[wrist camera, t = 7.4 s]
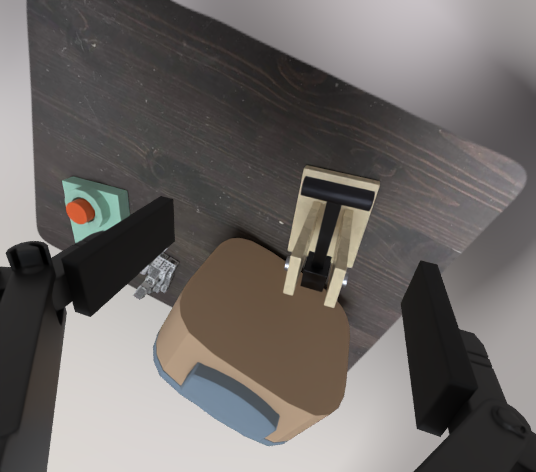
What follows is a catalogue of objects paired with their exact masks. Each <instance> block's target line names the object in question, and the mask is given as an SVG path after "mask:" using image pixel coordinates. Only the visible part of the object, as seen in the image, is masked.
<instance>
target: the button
mask: <svg viewBox="0 0 536 472" xmlns="http://www.w3.org/2000/svg"><path fill="white" fill-rule="evenodd" d="M66 211H67V214H68V216H69V217H70V218H71V220H73V221H74V222H75V223H77V224H85V223H87V222H88V221H90V220H92V219H93V218H94V217H95V210H94V208H93V207H92V205H91V204H90V203H89V202H88V201H87V200H86V199H83V198H79V199H76V200H74V201H72V202H70V203H68V204H67V206H66Z"/></svg>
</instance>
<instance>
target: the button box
mask: <svg viewBox="0 0 536 472" xmlns="http://www.w3.org/2000/svg"><path fill="white" fill-rule="evenodd" d="M62 183H63V188H64V192H65V204H66V206H67V204H68V203H70V202H72V201H74V200H76V199H79V198H83V199H86V200H87V201H88V202H89V203H90V204H91V205H92V207H93V208H94V210H95V217H94V218H93V219H92V220H90V221H88V222H87V223H85V224H77V223H75V222H74V221H73V220H71V218H70V220H71V225H72V229H73V234H74V238H75V243H77V242H79V241H80V240H81V241H82V239H84V238H85V237H87V236H89V235H90V234H92V233H95V232H99V231H102V230H104V231H106V230H107V229H109V228H111V227H112V226H114V225H115V224H117V223H119V222H120V221H122V220H123V219H125V218H127V217H128V216H130V212H129V202H128V192H127V190H123V189H119V188H116V187H112V186H108V185H104V184H100V183H97V182H93V181H89V180H85V179H81V178H77V177H74V176H73V177H70V178H68V179H65V180H62Z"/></svg>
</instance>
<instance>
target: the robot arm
mask: <svg viewBox="0 0 536 472" xmlns="http://www.w3.org/2000/svg"><path fill="white" fill-rule="evenodd" d="M173 242H175V234H174V206H173V199H170V198H166V197H162V196H160V197H159V198H157V199H156V200H154V201H152V202H151V203H149V204H147V205H146V206H144V207H143V208H141V209H139V210H138V211H136V212H135V213H133V214H131V215H130V216H128V217H127V218H125V219H123V220H122V221H120V222H119V223H117V224H115V225H114V226H112V227H111V228H109V229H107V230H106V231H104V230H102V231H99V232H95V233H92V234H90V235H89V236H87V237H85V238H84V239H82V241H81V240H80V241H79V242H77V243H75V245H72V246H70V247H69V248H67V249H65V250H64V251H62V252H60V253H59V254H57V255H56V256H54V257H52V258H51V256H50V253H49V249H48V245H47V244H45V243H44V242H39V241H30V242H24V243H20V244H18V245H15V246H13V247H11V248H10V249H8V250H7V252H6V255H7V258H8V261H9V263H10V266H11V267H0V472H47V463H48V456H49V449H50V448H49V447H50V441H51V433H52V425H53V417H54V408H55V401H56V393H57V385H58V377H59V370H60V361H61V354H62V346H63V338H64V330H65V322H66V314H67V312H66V308H65V306H67V305H68V304H69V303H71V302H73V306H74V309H75V312H78V313H80V314H83V315H86V316H89V317H91V316H92V315H93V314H94V313H95V312H97V311H98V310H99V309H100V308H101V307H102V306H103V305H104V304H105V303H107V302H108V301H109V300H110V299H111V298H112V297H113V296H114V295H115V294H117V293H118V292H119V291H120V290H121V289H122V288H123V287H124V286H125V285H127V284H128V283H129V282H130V281H131V280H132V279H133V278H134V277H136V276H137V275H138V274H139V273H140V272H141V271H142V270H143V269H144V268H146V267H147V266H148V265H149V264H150V263H151V262H152V261H153V260H154V259H156V258H157V257H158V256H159V255H160V254H161V253H162V252H163V251H164V250H166V249H167V248H168V247H169V246H170V245H171V244H172V243H173ZM401 309H402V317H403V324H404V331H405V340H406V347H407V356H408V363H409V371H410V379H411V387H412V395H413V403H414V410H415V418H416V426H417V429H419V430H422V431H425V432H428V433H431V434H434V435H437V436H439V437H441V435H442V434H443V433H444V432H445V430H446V429H447V428H448V430H449V436H448V437H447V438H446V439H445V440H444V441H443V442H442V443H441V444H440V445H439V446H438V447H437V448H436V449H435V450H434V451H433V452H432V453H431V454H430V455H429V456H428V457H427V459H425V461H424V462H423V463H422V464H421V465H420V466H419V467H418V468H417V469H416V470H415V471H414V472H536V434H535V433H533V432H532V431H531V428H530V425H529V424H528V423H527V421H526V419H525V418H524V417H523V416H522V415H521V414H520V413H519V412H518V411H517V410H516V409H515V408H513V407H512V406H510V405H508V404H507V402H506V399H505V397H504V394H503V392H502V389H501V387H500V384H499V382H498V379H497V377H496V375H495V372H494V370H493V369H492V365H491V362H490V360H489V359H488V355H487V352H486V350H485V348H484V345H483V344H482V343H481V342H480V340H479V339H478V338H477V337H476V336H475V334H474V333H471V332H467V331H464V330H460V329H459V328H458V325H457V322H456V319H455V316H454V313H453V310H452V307H451V304H450V301H449V298H448V295H447V292H446V289H445V286H444V283H443V280H442V277H441V274H440V271H439V268H438V265H437V264H433V263H428V262H424V261H420V263H419V265H418V267H417V269H416V271H415V274H414V276H413V278H412V280H411V282H410V284H409V287H408V289H407V291H406V293H405V295H404V298H403V300H402V302H401Z"/></svg>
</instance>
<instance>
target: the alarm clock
mask: <svg viewBox="0 0 536 472" xmlns="http://www.w3.org/2000/svg"><path fill="white" fill-rule="evenodd" d="M285 262H286V261H284V260H283V259H281V258H280V257H278V256H277V255H275V254H274V253H272V252H271V251H269V250H267V249H265V248H264V247H262V246H260V245H258V244H256V243H254V242H253V241H250V240H246V239H242V238H231V239H229V240H226V241H224V242H223V243H221V244H220V245H219V246H218V247H217V248H216V249H215V250H214V251H213V253H212V254H211V255H210V256H209V257H208V258H207V260H206V261H205V262H204V263H203V264H202V266H201V267H200V268H199V269H198V270H197V271H196V273H195V274H194V275H193V276H192V277H191V278H190V280H189V281H188V283H187V284H186V286H185V287H184V289H183V291H182V292H181V294H180V296H179V298H178V299H177V301H176V303H175V304H174V306H173V308H172V310H171V311H170V313H169V315H168V317H167V318H166V320H165V322H164V324H163V325H162V327H161V329H160V331H159V332H158V334H157V338H156V341H155V343H154V346H153V356H154V363H155V365H156V368H157V370H158V372H159V375H160V376H161V377H162V378H163V379H164V380H165V381H166V382H167V383H169V384H170V385H171V386H172V387H173V388H174V389H175V390H176V391H177V392H178V393H179V394H181V395H182V396H184V397H185V398H187V399H188V400H190V401H191V402H193V403H194V404H196V405H197V406H199V407H200V408H201V409H203V410H204V411H205V412H207V413H208V414H209V415H211V416H212V417H214V418H215V419H217V420H218V421H220V422H222V423H223V424H225V425H226V426H228V427H230V428H232V429H234V430H235V431H237V432H239V433H240V434H242V435H243V436H246V437H248V438H250V439H253V440H255V441H257V442H259V443H262V444H264V445H267V446H273V445H280V444H284V443H285V442H287V441H288V440H290V439H292V438H293V437H295V436H296V435H298V434H300V433H301V432H303V431H304V430H306V429H307V428H309V427H311V426H312V425H314V424H315V423H317V422H319V421H320V420H322V419H323V418H325V417H326V416H328V415H330V414H331V413H332V412H334V411H335V410H336V409H337V408H338V407H339V405H340V403H341V401H342V399H343V397H344V393H345V387H346V379H347V366H348V353H349V340H350V328H349V323H348V319H347V316H346V314H345V312H344V310H343V308H342V306H341V305H340V304H339V303H338V301H336V304H335V307H334V308H332V307H329V306H325V305H324V301H325V296H326V290H325V289H324V288H323V292H319V291H315V290H312V289H309V288H305V287H302V286H300V284H301V280H302V275H303V273H302V272H301V273H300V276H299V279H298V282H297V285H296V288H295V291H294V294H293V296H292V295H288V294H285V293H283V290H284V285H285V280H286V275H287V271H285V270H284V266H285Z"/></svg>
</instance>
